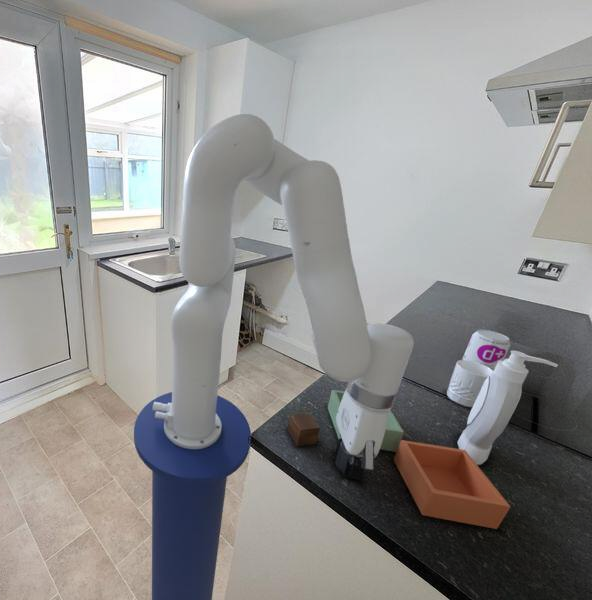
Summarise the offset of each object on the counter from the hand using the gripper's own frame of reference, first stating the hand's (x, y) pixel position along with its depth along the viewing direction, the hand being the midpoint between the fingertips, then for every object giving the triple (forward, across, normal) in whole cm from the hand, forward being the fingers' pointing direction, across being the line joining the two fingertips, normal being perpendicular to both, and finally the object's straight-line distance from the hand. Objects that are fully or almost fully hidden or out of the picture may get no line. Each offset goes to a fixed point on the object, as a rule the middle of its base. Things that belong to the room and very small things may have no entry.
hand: (347, 465), depth 62 cm
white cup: (+1, -30, +38) cm, 48 cm away
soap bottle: (+1, -10, +30) cm, 32 cm away
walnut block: (0, -6, -8) cm, 10 cm away
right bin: (0, +2, +16) cm, 16 cm away
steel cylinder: (0, 0, 0) cm, 0 cm away
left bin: (0, -12, +6) cm, 13 cm away
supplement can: (+1, -42, +48) cm, 64 cm away
